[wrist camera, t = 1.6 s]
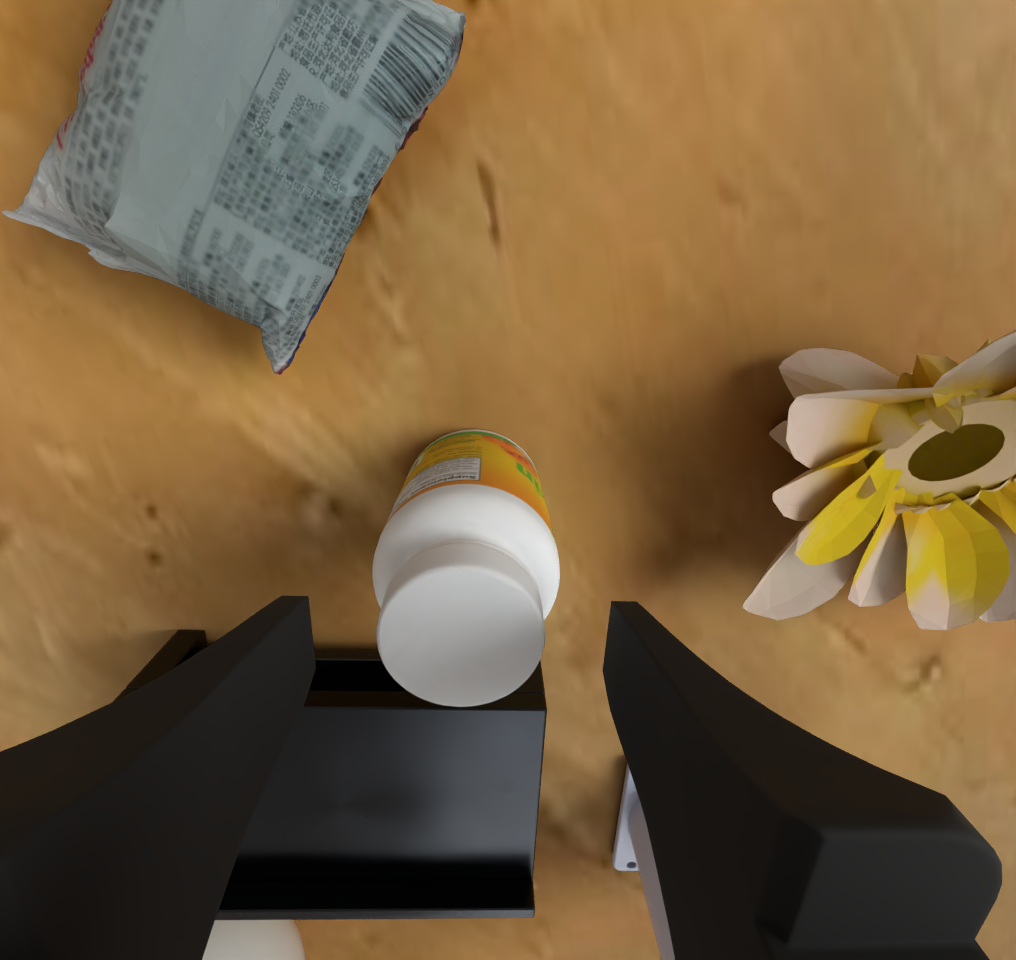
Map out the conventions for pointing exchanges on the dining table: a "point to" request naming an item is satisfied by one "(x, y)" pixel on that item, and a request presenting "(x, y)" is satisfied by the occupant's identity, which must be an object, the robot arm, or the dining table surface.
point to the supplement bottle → (466, 572)
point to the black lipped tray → (388, 800)
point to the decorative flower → (899, 486)
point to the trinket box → (254, 940)
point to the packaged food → (240, 143)
